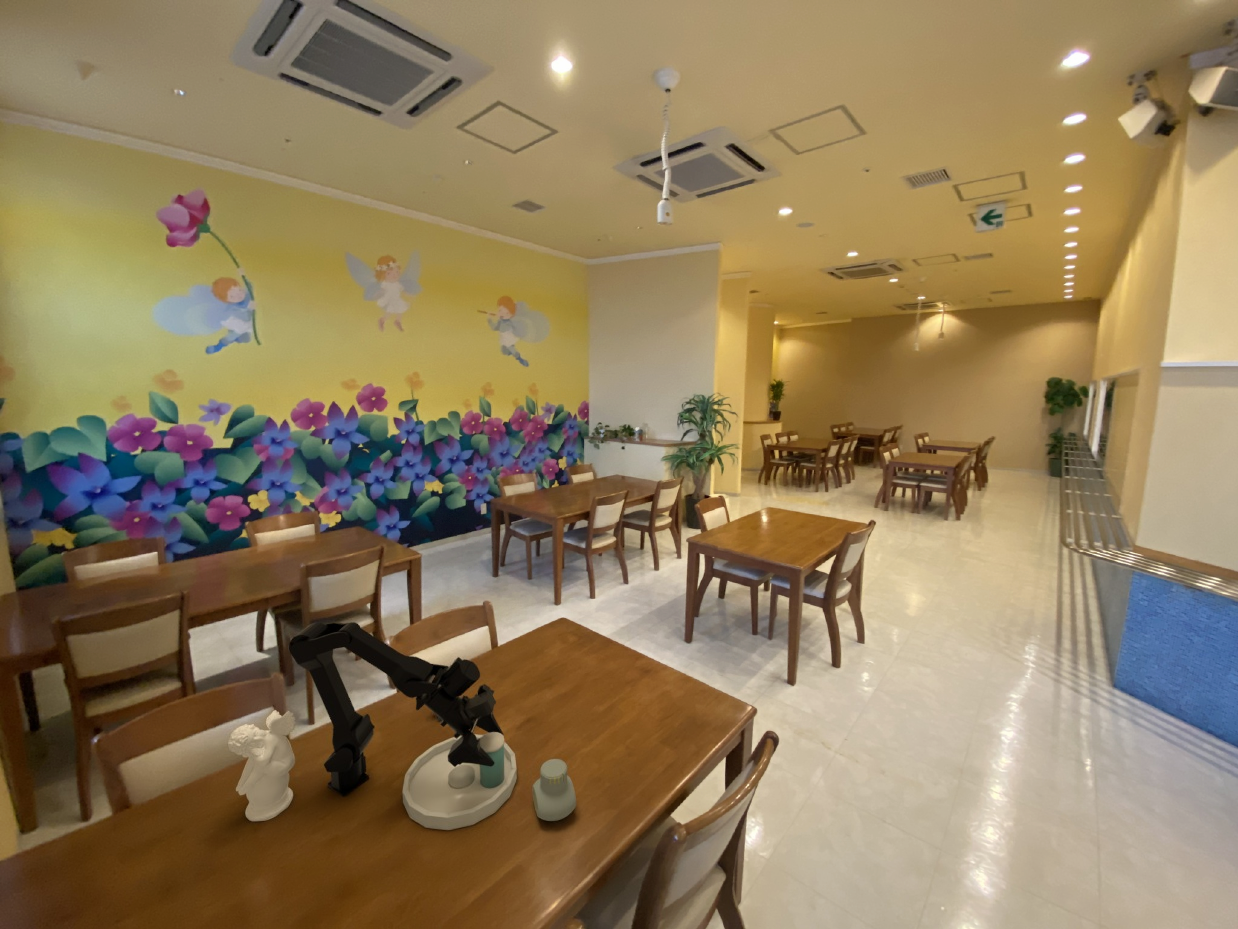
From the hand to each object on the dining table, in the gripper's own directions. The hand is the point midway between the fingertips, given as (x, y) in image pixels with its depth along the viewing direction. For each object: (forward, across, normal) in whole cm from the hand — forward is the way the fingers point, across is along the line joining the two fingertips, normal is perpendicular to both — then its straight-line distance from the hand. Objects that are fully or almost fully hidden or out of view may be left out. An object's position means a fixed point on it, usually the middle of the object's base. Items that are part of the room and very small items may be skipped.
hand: (497, 750), depth 115 cm
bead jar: (+4, 0, +6) cm, 8 cm away
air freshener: (+16, -7, -4) cm, 18 cm away
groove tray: (0, 0, +12) cm, 12 cm away
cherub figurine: (-28, -5, +41) cm, 50 cm away
